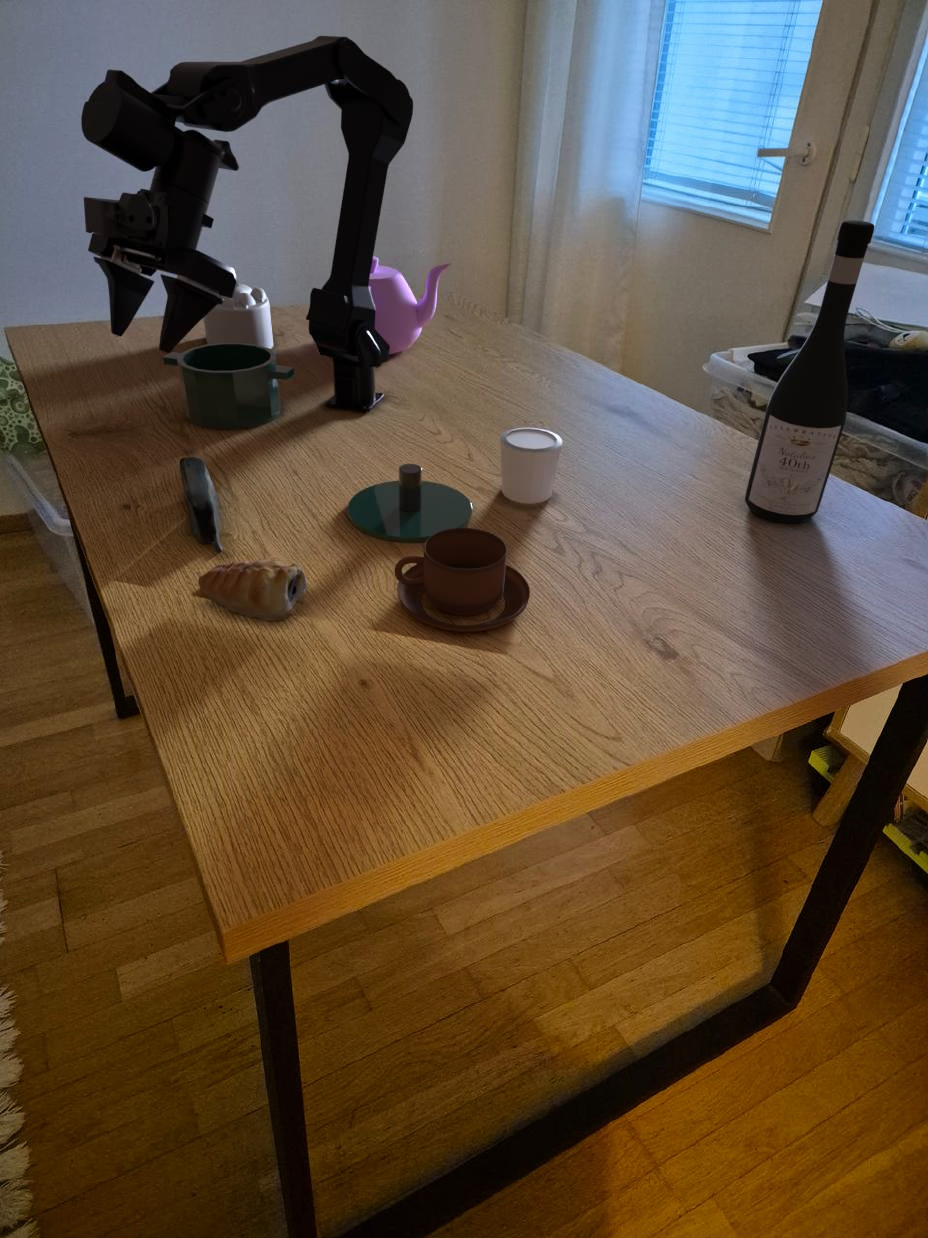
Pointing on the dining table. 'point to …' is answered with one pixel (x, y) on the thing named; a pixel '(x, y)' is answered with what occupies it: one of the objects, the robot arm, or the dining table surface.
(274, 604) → the pastry
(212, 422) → the pot
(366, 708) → the dining table surface
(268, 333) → the lumpy-topped squat cylinder
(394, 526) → the lid
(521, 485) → the white lidded cup
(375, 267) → the teapot
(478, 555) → the cup and saucer
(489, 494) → the dining table surface
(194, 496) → the black long curved piece
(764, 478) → the wine bottle
